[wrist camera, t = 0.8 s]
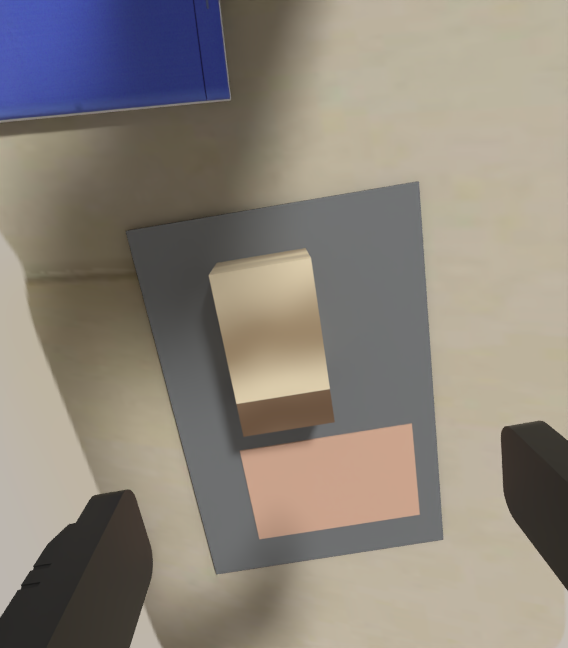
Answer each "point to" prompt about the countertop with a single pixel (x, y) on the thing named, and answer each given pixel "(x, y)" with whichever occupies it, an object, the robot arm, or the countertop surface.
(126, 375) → the countertop surface
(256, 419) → the beige rectangular block
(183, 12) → the hard drive
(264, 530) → the rubber mat
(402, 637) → the countertop surface
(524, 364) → the countertop surface
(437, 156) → the countertop surface
